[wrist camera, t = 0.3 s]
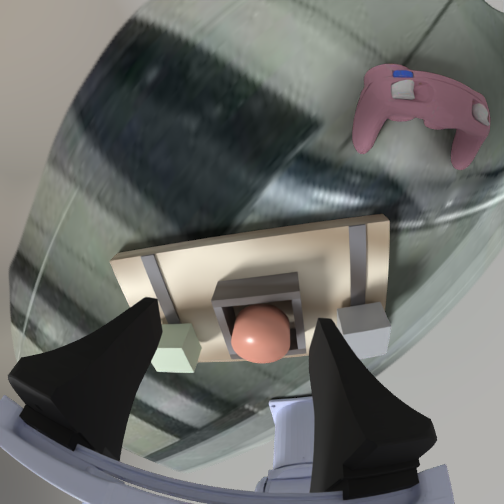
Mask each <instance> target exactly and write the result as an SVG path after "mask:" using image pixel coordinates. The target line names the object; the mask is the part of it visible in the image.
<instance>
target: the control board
mask: <svg viewBox="0 0 504 504" xmlns="http://www.w3.org/2000/svg"><path fill="white" fill-rule="evenodd" d="M389 239H390V221H389V220H388V219H387V218H386V217H385V216H384V215H383V214H376V215H368V216H360V217H352V218H344V219H336V220H329V221H321V222H314V223H307V224H299V225H292V226H285V227H278V228H271V229H264V230H257V231H250V232H244V233H237V234H230V235H224V236H217V237H211V238H205V239H198V240H192V241H186V242H180V243H173V244H167V245H161V246H155V247H149V248H144V249H138V250H132V251H126V252H120V253H117V254H116V255H115V256H114V257H113V258H112V259H111V260H110V264H111V266H112V268H113V271H114V273H115V275H116V278H117V280H118V282H119V284H120V287H121V289H122V291H123V293H124V295H125V298H126V300H127V302H128V304H129V306H130V307H132V306H133V305H134V304H136V303H137V302H139V301H140V300H141V299H143V298H145V297H151V298H157V299H158V305H159V311H160V318H161V324H185V323H191V324H192V326H193V328H194V331H195V333H196V336H197V338H198V340H199V343H200V345H201V347H202V349H201V352H200V355H199V358H198V362H227V361H247V360H245V359H243V358H241V357H240V356H239V355H238V354H237V353H236V352H235V351H234V349H233V347H232V344H231V339H232V334H233V329H234V324H235V320H236V317H237V315H238V314H239V312H240V311H241V310H243V309H244V308H246V307H248V306H250V305H254V304H268V305H272V306H275V307H277V308H279V309H280V310H282V311H283V312H284V313H285V314H286V315H287V317H288V319H289V323H290V348H289V350H288V352H287V353H286V355H285V356H284V357H282V358H287V357H297V356H306V355H309V348H310V345H311V341H312V338H313V334H314V330H315V327H316V323H317V320H318V318H331V319H332V320H333V321H334V323H335V325H336V326H337V309H338V308H345V307H351V306H358V305H364V304H370V303H375V302H381V304H382V307H383V309H384V311H385V306H386V295H387V283H388V267H389Z"/></svg>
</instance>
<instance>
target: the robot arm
mask: <svg viewBox="0 0 504 504" xmlns="http://www.w3.org/2000/svg"><path fill="white" fill-rule="evenodd" d="M162 333H163V330H162V324H161V318H160V311H159V305H158V299H157V298H151V297H145V298H143V299H141V300H140V301H139V302H137V303H136V304H134V305H133V306H132V307H130V308H129V309H128V310H126V311H125V312H123V313H122V314H120V315H119V316H118V317H116V318H115V319H113V320H112V321H110V322H109V323H107V324H106V325H104V326H102V327H101V328H99V329H98V330H96V331H94V332H93V333H91V334H89V335H87V336H85V337H83V338H81V339H79V340H77V341H75V342H72V343H70V344H68V345H65V346H63V347H60V348H57V349H55V350H52V351H48V352H45V353H41V354H37V355H32V356H27V357H21V359H20V360H19V361H18V363H17V364H16V365H15V366H14V368H13V369H12V371H11V372H10V373H9V375H8V380H9V382H10V384H11V386H12V387H13V389H14V390H15V391H16V393H17V394H18V395H19V397H20V398H21V399H22V400H23V401H24V403H25V404H26V405H25V407H24V408H22V407H21V406H20V405H18V404H17V403H16V402H14V401H13V400H11V399H10V398H8V397H7V396H6V395H4V396H3V397H2V399H1V400H0V447H1V448H2V449H4V450H5V451H6V452H7V453H8V454H10V455H11V456H12V457H13V458H15V459H16V460H17V461H19V462H20V463H21V464H22V465H24V466H25V467H27V468H28V469H29V470H31V471H32V472H34V473H35V474H37V475H38V476H39V477H41V478H43V479H44V480H46V481H47V482H49V483H50V484H52V485H53V486H55V487H57V488H58V489H60V490H62V491H64V492H65V493H67V494H69V495H71V496H72V497H74V498H76V499H78V500H80V501H82V504H192V503H187V502H183V501H178V500H174V499H170V498H167V497H163V496H159V495H156V494H152V493H149V492H146V491H143V490H140V489H137V488H134V487H131V486H128V485H125V484H124V482H123V481H126V482H128V483H131V484H134V485H137V486H140V487H143V488H146V489H149V490H152V491H156V492H159V493H163V494H167V495H170V496H174V497H179V498H182V499H187V500H192V501H197V502H202V503H207V504H455V503H454V498H453V493H452V488H451V483H450V479H449V475H448V470H447V466H446V465H445V464H444V465H440V466H437V467H434V468H431V469H427V470H425V471H422V472H420V473H417V467H419V465H420V463H419V457H421V456H422V455H423V454H425V453H426V452H427V451H428V450H429V449H430V448H432V446H433V445H434V444H435V443H436V441H437V436H436V433H435V429H434V426H433V423H432V421H431V419H429V418H427V417H426V416H424V415H422V414H421V413H419V412H417V411H416V410H414V409H412V408H411V407H409V406H408V405H406V404H405V403H404V402H402V401H401V400H400V399H398V398H397V397H396V396H394V395H393V394H392V393H391V392H390V391H389V390H388V389H387V388H385V387H384V386H383V385H382V384H381V383H380V382H379V381H378V380H377V379H376V378H375V377H374V376H373V375H372V374H371V373H370V372H369V370H368V369H367V368H366V367H365V366H364V364H363V363H362V362H361V361H360V360H359V358H358V357H357V356H356V354H355V353H354V351H353V350H352V349H351V347H350V346H349V344H348V343H347V341H346V340H345V339H344V337H343V335H342V334H341V332H340V331H339V329H338V328H337V326H336V325H335V323H334V321H333V320H332V319H331V318H318V320H317V323H316V327H315V330H314V334H313V338H312V341H311V345H310V348H309V374H310V382H311V390H312V396H311V397H301V398H290V399H276V400H270V401H269V406H270V409H271V413H272V416H273V419H274V423H275V442H274V460H273V470H269V471H268V477H263V478H262V479H261V481H259V482H258V484H257V486H256V489H255V492H253V491H243V490H234V489H225V488H219V487H213V486H206V485H201V484H196V483H191V482H187V481H182V480H178V479H174V478H170V477H166V476H162V475H159V474H155V473H152V472H149V471H145V470H142V469H139V468H136V467H133V466H130V465H127V464H124V463H122V462H120V455H121V449H122V443H123V438H124V434H125V430H126V425H127V422H128V418H129V414H130V411H131V407H132V404H133V401H134V398H135V395H136V392H137V390H138V388H139V385H140V383H141V381H142V379H143V377H144V375H145V373H146V371H147V369H148V367H149V365H150V363H151V361H152V359H153V357H154V354H155V352H156V350H157V348H158V345H159V342H160V339H161V336H162ZM114 477H115V478H114ZM116 478H118V479H116ZM119 479H120V480H123V481H120V480H119Z"/></svg>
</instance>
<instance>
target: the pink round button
mask: <svg viewBox="0 0 504 504" xmlns="http://www.w3.org/2000/svg"><path fill="white" fill-rule="evenodd" d="M231 344H232V347H233V349H234V351H235V352H236V353H237V354H238V355H239V356H240V357H241V358H243V359H245V360H247V361H250V362H254V363H270V362H274V361H277V360H279V359H281V358H282V357H284V356H285V355H286V353H287V352H288V350H289V348H290V323H289V319H288V317H287V315H286V314H285V313H284V312H283V311H282V310H280V309H279V308H277V307H275V306H272V305H268V304H254V305H250V306H248V307H246V308H244V309H243V310H241V311H240V312H239V314H238V315H237V317H236V320H235V324H234V329H233V334H232V339H231Z"/></svg>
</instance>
